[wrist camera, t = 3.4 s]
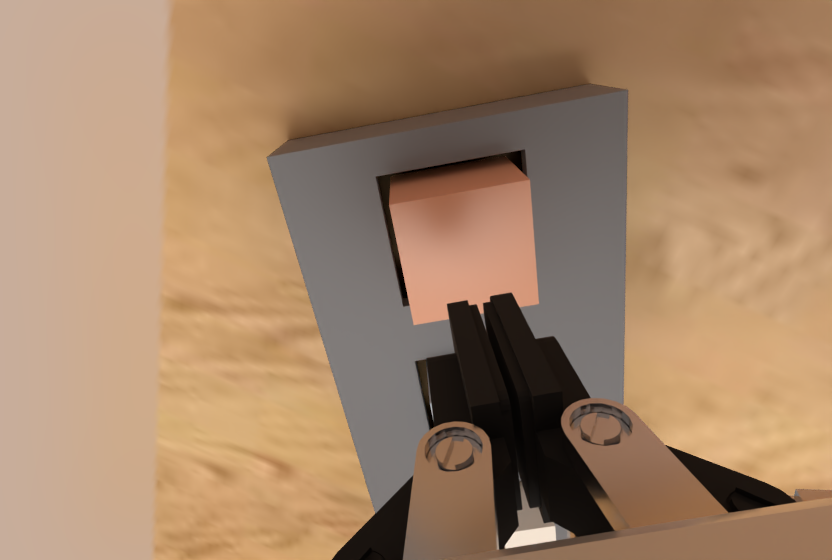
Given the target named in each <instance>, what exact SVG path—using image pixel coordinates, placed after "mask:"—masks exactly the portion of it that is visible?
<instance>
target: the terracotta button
mask: <svg viewBox="0 0 832 560" xmlns="http://www.w3.org/2000/svg"><path fill="white" fill-rule="evenodd" d="M389 207H390V212H391V217H392V221H393V226H394V231H395V236H396V241H397V246H398V251H399V256H400V260H401V265H402V270H403V275H404V280H405V285H406V290H407V295H408V299H409V304H410V309H411V314H412V319H413V324H414V325H417V324H423V323H429V322H435V321H441V320H447V319H449V316H448V310H447V304H448V303H454V302H459V301H465V300H468V303H469V305H474V304H477V306H478V309H479V312H480V314H483V313H484V310H483V303H485V302H490V296H493V295H499V294H504V293H510V292H512V294H513V296H514V298H515V300H516V301H517V303H518V305H519V307H524V306H530V305H536V304H539V297H538V283H537V270H536V256H535V242H534V229H533V215H532V201H531V188H530V179H529V178H528V177H527V176H526V175H525V174H523V173H522V172H521V171H520V170H519V169H518V168H517V167H516V166H515V165H514V164H513V163H512V162H511V161H510V160H509V159H508V158H507V157H506V156H499V157H494V158H488V159H483V160H477V161H472V162H466V163H461V164H455V165H450V166H444V167H439V168H433V169H428V170H423V171H417V172H412V173H406V174H401V175H395V176H391V183H390V199H389Z"/></svg>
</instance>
